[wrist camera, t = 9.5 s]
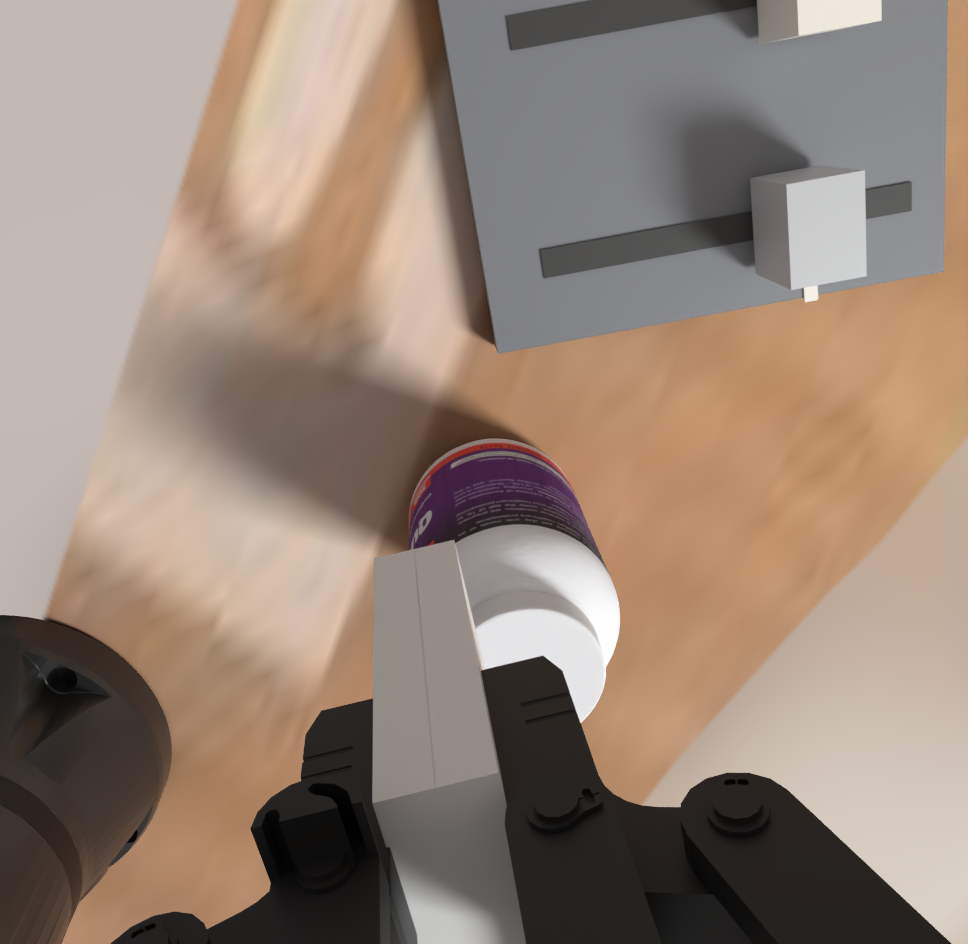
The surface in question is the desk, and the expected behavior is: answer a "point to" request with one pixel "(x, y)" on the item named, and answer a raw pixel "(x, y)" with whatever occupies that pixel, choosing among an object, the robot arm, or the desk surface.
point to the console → (680, 151)
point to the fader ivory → (812, 17)
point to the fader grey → (809, 226)
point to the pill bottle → (522, 560)
